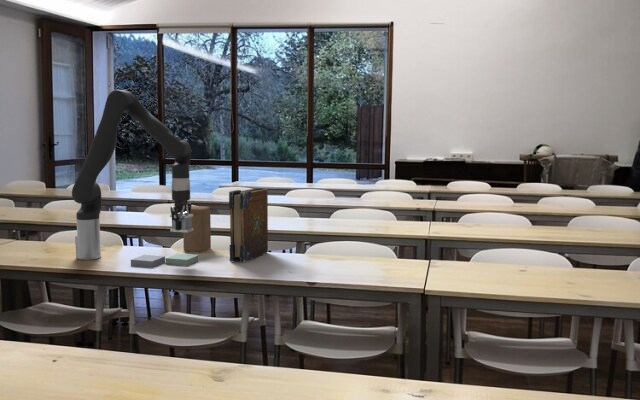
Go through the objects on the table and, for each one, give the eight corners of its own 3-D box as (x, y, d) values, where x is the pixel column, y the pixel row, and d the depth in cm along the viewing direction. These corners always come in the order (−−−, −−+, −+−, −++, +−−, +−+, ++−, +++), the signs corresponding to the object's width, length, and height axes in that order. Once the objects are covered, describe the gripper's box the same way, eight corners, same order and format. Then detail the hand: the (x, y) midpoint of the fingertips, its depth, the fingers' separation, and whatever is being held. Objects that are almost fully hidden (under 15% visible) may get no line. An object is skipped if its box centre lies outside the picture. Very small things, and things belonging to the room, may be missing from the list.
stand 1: (130, 265, 246) (130, 259, 246) (144, 260, 256) (144, 254, 256) (152, 267, 244) (152, 261, 243) (165, 262, 253) (165, 256, 253)
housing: (170, 231, 250) (169, 214, 249) (176, 229, 255) (176, 213, 254) (187, 232, 248) (187, 215, 247) (193, 230, 253) (193, 214, 252)
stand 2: (165, 264, 250) (165, 258, 249) (177, 259, 259) (177, 253, 259) (187, 265, 247) (187, 259, 247) (198, 260, 257) (198, 254, 256)
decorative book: (244, 263, 253) (243, 192, 249) (229, 261, 256) (228, 191, 252) (270, 252, 274) (270, 187, 271) (256, 251, 277) (256, 186, 274)
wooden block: (203, 252, 273) (202, 209, 270) (182, 251, 275) (182, 208, 272) (211, 248, 283) (211, 206, 280) (191, 247, 285) (191, 205, 282)
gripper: (181, 186, 257) (182, 226, 259) (163, 190, 244) (164, 231, 246) (197, 187, 255) (197, 226, 257) (180, 190, 242) (181, 232, 244)
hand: (181, 228), depth 251 cm, fingers closed on housing, 5 cm apart
